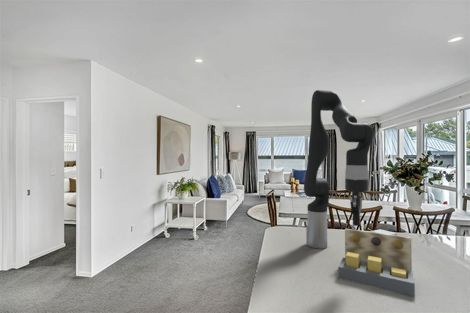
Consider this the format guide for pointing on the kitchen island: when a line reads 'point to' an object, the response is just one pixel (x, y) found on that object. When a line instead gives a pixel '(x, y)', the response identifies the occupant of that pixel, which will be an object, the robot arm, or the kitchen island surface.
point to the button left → (352, 259)
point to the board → (378, 278)
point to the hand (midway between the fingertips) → (356, 225)
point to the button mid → (374, 264)
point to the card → (380, 248)
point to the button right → (398, 272)
